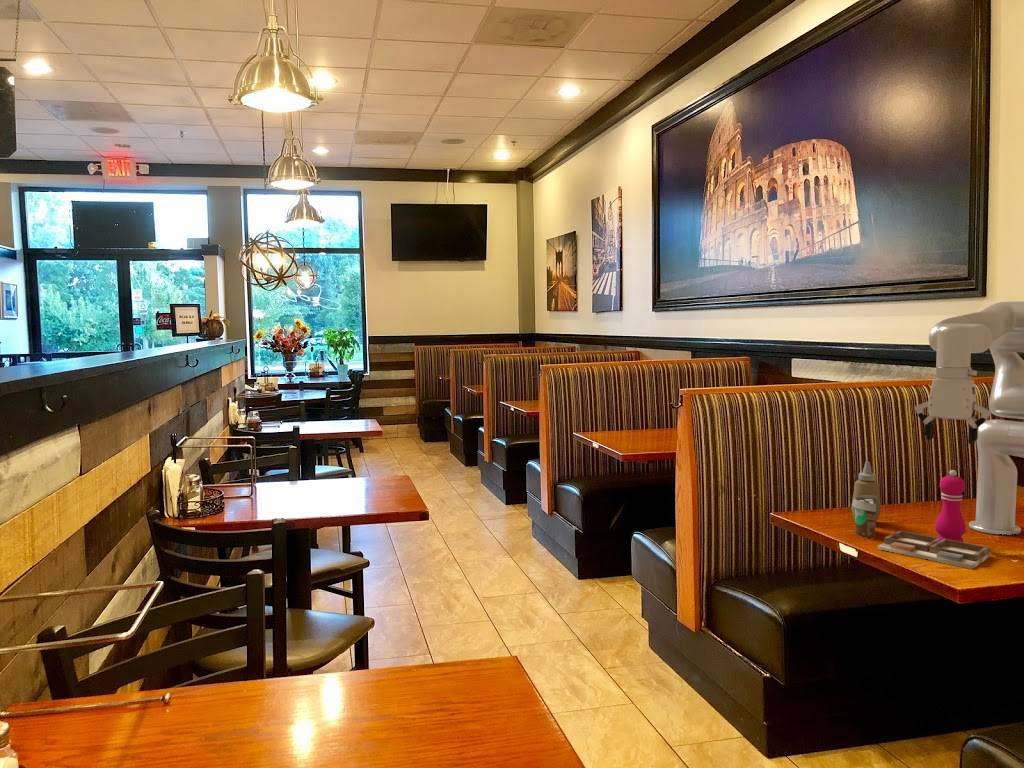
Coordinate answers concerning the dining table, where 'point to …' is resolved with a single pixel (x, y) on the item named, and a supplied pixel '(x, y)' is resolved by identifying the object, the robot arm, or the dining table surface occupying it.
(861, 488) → the squeeze bottle
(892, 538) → the holder board
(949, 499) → the pepper mill
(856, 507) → the food container
